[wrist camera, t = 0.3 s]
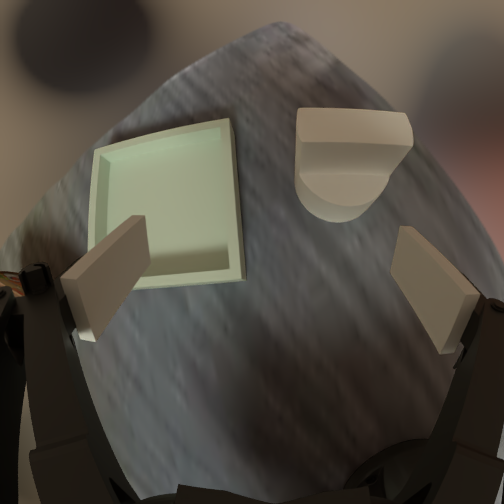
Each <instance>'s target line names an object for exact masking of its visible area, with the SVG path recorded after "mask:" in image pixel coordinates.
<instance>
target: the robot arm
mask: <svg viewBox="0 0 504 504" xmlns="http://www.w3.org/2000/svg"><path fill="white" fill-rule="evenodd" d="M150 264H151V260H150V252H149V245H148V237H147V228H146V219H145V215H132V216H130V217H129V218H128V219H127V220H125V221H124V222H123V223H122V224H120V225H119V226H118V227H117V228H116V229H114V230H113V231H112V232H111V233H110V234H108V235H107V236H106V237H105V238H104V239H103V240H101V241H100V242H99V243H98V244H97V245H96V246H94V247H93V248H92V249H91V250H90V251H89V252H88V253H86V254H85V255H84V256H82V257H80V258H79V259H77V260H76V261H74V262H73V263H72V264H71V265H70V266H69V267H68V268H67V269H66V270H65V271H63V272H62V273H61V274H60V275H59V276H58V277H57V278H56V279H55V280H54V281H53V279H52V275H51V272H50V268H49V265H48V263H45V262H38V263H33V264H31V265H28V266H26V267H25V268H23V269H22V270H21V271H20V272H19V274H18V276H19V279H20V282H21V285H22V288H23V291H24V294H25V296H19V297H15V296H14V293H13V290H12V288H11V287H9V286H2V287H0V504H18V451H19V435H20V423H21V414H22V406H23V399H24V392H25V386H26V382H27V391H28V399H29V407H30V413H31V420H32V425H33V431H34V436H35V441H36V449H35V450H31V451H30V453H29V460H30V466H31V470H32V474H33V478H34V481H35V485H36V488H37V492H38V495H39V498H40V501H41V504H273V503H268V502H263V501H259V500H256V499H252V498H248V497H244V496H241V495H238V494H234V493H231V492H228V491H224V490H214V489H206V488H199V487H192V486H186V485H180V484H178V488H177V493H174V494H164V495H158V496H153V497H149V498H146V499H143V500H140V499H139V497H138V496H137V494H136V493H135V491H134V490H133V488H132V487H131V485H130V484H129V482H128V481H127V479H126V477H125V475H124V473H123V471H122V469H121V467H120V465H119V463H118V461H117V459H116V457H115V455H114V452H113V450H112V448H111V446H110V444H109V441H108V439H107V437H106V434H105V432H104V430H103V427H102V425H101V422H100V420H99V417H98V414H97V412H96V409H95V406H94V404H93V401H92V398H91V395H90V392H89V389H88V386H87V383H86V380H85V377H84V374H83V371H82V367H81V364H80V360H79V357H78V353H77V349H76V346H75V342H74V339H73V336H72V334H71V333H72V332H73V330H74V329H75V328H77V331H78V334H79V336H80V339H83V340H88V341H93V342H97V340H98V338H99V337H100V335H101V334H102V332H103V331H104V329H105V328H106V326H107V325H108V323H109V322H110V320H111V319H112V317H113V316H114V314H115V313H116V312H117V310H118V309H119V307H120V306H121V304H122V303H123V301H124V300H125V299H126V297H127V296H128V294H129V293H130V291H131V290H132V289H133V287H134V286H135V284H136V283H137V282H138V280H139V279H140V277H141V276H142V275H143V273H144V272H145V271H146V269H147V268H148V266H149V265H150ZM390 274H391V275H392V277H393V278H394V280H395V281H396V283H397V284H398V286H399V287H400V289H401V291H402V292H403V294H404V295H405V297H406V298H407V300H408V302H409V303H410V305H411V306H412V308H413V310H414V311H415V313H416V315H417V316H418V318H419V320H420V321H421V323H422V325H423V326H424V328H425V330H426V331H427V333H428V335H429V337H430V338H431V340H432V342H433V344H434V345H435V347H436V349H437V351H438V353H439V354H440V355H442V354H450V353H454V352H455V350H456V348H457V346H458V344H459V342H460V341H461V342H462V344H463V345H464V348H463V350H462V352H461V354H460V356H459V358H458V360H457V362H456V364H455V365H454V367H453V369H456V371H455V374H454V377H453V380H452V383H451V386H450V389H449V392H448V394H447V397H446V400H445V402H444V405H443V408H442V410H441V413H440V415H439V418H438V420H437V422H436V425H435V427H434V429H433V432H432V434H431V436H430V438H429V440H427V439H417V440H410V441H406V442H402V443H399V444H396V445H394V446H391V447H389V448H387V449H385V450H383V451H381V452H380V453H378V454H376V455H375V456H373V457H372V458H370V459H369V460H368V461H366V462H365V463H364V464H363V465H362V466H361V467H359V468H358V469H357V470H356V472H355V473H354V474H353V475H352V476H351V477H350V479H349V480H348V482H347V484H346V485H345V487H344V490H337V491H326V492H322V493H318V494H315V495H311V496H308V497H304V498H300V499H296V500H292V501H287V502H283V503H278V504H494V503H495V500H496V497H497V494H498V490H499V487H500V484H501V480H502V477H503V473H504V460H503V459H500V458H497V452H498V448H499V443H500V439H501V434H502V429H503V424H504V303H503V302H502V301H500V300H497V299H494V298H489V299H486V297H485V296H484V295H483V294H482V293H481V292H480V291H479V290H478V289H477V288H476V287H475V286H474V284H473V283H472V282H471V281H469V279H468V278H467V277H466V276H465V275H464V274H463V273H461V272H460V271H458V270H457V269H456V268H455V267H454V266H453V265H452V264H451V263H450V262H449V261H448V260H447V259H446V258H445V257H444V256H443V255H442V254H441V253H440V252H439V251H438V250H437V249H436V248H435V247H434V246H433V245H432V244H431V243H430V242H429V241H427V240H426V239H425V238H424V237H423V236H422V235H421V234H420V233H419V232H418V231H417V230H415V229H414V228H413V227H412V226H400V227H399V233H398V238H397V243H396V247H395V252H394V256H393V261H392V265H391V269H390ZM456 367H457V368H456ZM501 504H504V483H503V494H502V503H501Z"/></svg>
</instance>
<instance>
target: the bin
mask: <svg viewBox="0 0 504 504" xmlns="http://www.w3.org/2000/svg"><path fill="white" fill-rule="evenodd" d="M132 215H145V219H146V228H147V237H148V245H149V252H150V260H151V264H150V265H149V266H148V268H147V269H146V271H145V272H144V273H143V275H142V276H141V277H140V279H139V280H138V282H137V283H136V284H135V286H134V287H133V289H132V290H137V289H151V288H165V287H178V286H191V285H203V284H215V283H226V282H237V281H247V279H246V267H245V256H244V244H243V232H242V220H241V208H240V196H239V184H238V172H237V159H236V147H235V134H234V131H233V128H232V125H231V122H230V119H229V118H225V119H219V120H214V121H208V122H203V123H197V124H192V125H187V126H183V127H178V128H173V129H169V130H164V131H160V132H156V133H152V134H148V135H144V136H140V137H136V138H133V139H129V140H125V141H122V142H118V143H115V144H111V145H108V146H105V147H102V148H98V149H95V151H94V159H93V168H92V177H91V189H90V202H89V222H88V252H89V251H90V250H91V249H92V248H93V247H94V246H96V245H97V244H98V243H99V242H100V241H101V240H103V239H104V238H105V237H106V236H107V235H108V234H110V233H111V232H112V231H113V230H114V229H116V228H117V227H118V226H119V225H120V224H122V223H123V222H124V221H125V220H127V219H128V218H129V217H130V216H132Z"/></svg>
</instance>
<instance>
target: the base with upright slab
mask: <svg viewBox="0 0 504 504" xmlns="http://www.w3.org/2000/svg"><path fill="white" fill-rule="evenodd" d="M413 143H414V141H413V132H412V127H411V125H410V122H409V120H408V117H407V116H406V114H405V113H400V112H390V111H379V110H365V109H346V108H299V109H298V111H297V121H296V150H295V177H294V184H295V189H296V194H297V196H298V198H299V200H300V202H301V203H302V204H303V206H304V207H305V208H306V209H307V210H308V211H309V212H310V213H312V214H313V215H315V216H316V217H318V218H320V219H323V220H326V221H329V222H338V223H339V222H346V221H350V220H353V219H355V218H357V217H359V216H360V215H361V214H363V213H364V212H365V211H366V210H367V209H368V208H369V207H370V206H371V204H372V203H373V202H374V201H375V200H376V199H377V198H378V197H379V195H380V194H381V193H382V192H383V190H384V189H385V187H386V185H387V184H388V181H389V177H390V175H391V173H392V172H393V171H394V170H395V168H396V167H397V166H398V165H399V163H400V162H401V161H402V160H403V158H404V157H405V156H406V154H407V153H408V152H409V151H410V149H411V148H412V147H413Z"/></svg>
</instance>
